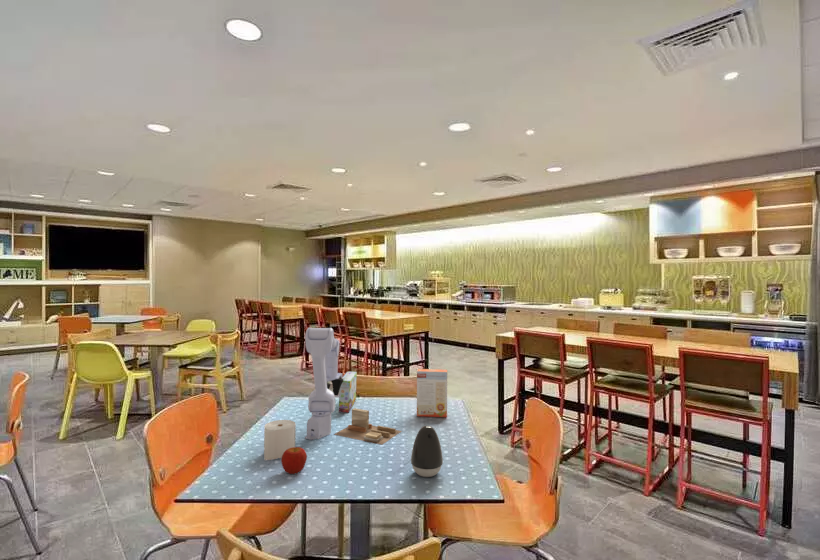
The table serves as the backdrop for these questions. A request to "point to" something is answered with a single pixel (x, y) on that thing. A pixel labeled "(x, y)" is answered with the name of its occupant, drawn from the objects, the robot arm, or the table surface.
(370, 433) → the oak offcut
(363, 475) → the table surface
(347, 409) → the snack box
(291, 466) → the apple
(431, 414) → the cracker box
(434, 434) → the dark grey egg shape
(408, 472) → the table surface
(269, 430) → the toilet tissue
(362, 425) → the birch board
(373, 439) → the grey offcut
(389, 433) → the rack
